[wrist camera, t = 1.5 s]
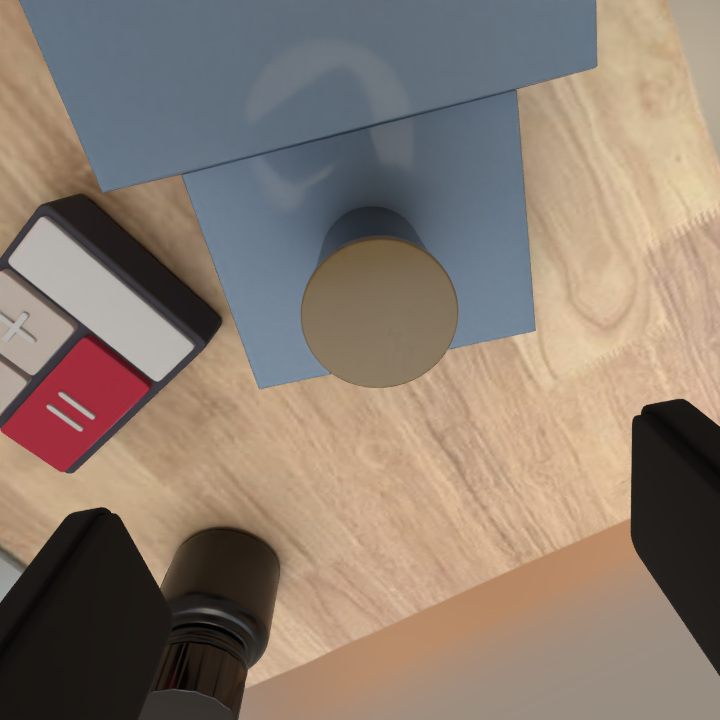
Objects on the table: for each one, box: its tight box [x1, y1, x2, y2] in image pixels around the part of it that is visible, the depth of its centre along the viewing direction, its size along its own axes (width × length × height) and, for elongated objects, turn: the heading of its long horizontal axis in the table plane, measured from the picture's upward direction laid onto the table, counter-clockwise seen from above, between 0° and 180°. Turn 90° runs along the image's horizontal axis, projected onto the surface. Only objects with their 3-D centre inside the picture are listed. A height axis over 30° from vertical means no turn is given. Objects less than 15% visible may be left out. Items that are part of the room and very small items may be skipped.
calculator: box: [0, 194, 222, 473], centre depth 30 cm, size 11×4×15 cm
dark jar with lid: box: [301, 206, 459, 388], centre depth 21 cm, size 6×6×9 cm
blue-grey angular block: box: [19, 0, 597, 389], centre depth 21 cm, size 22×16×13 cm
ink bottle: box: [138, 530, 280, 720], centre depth 35 cm, size 10×9×12 cm
